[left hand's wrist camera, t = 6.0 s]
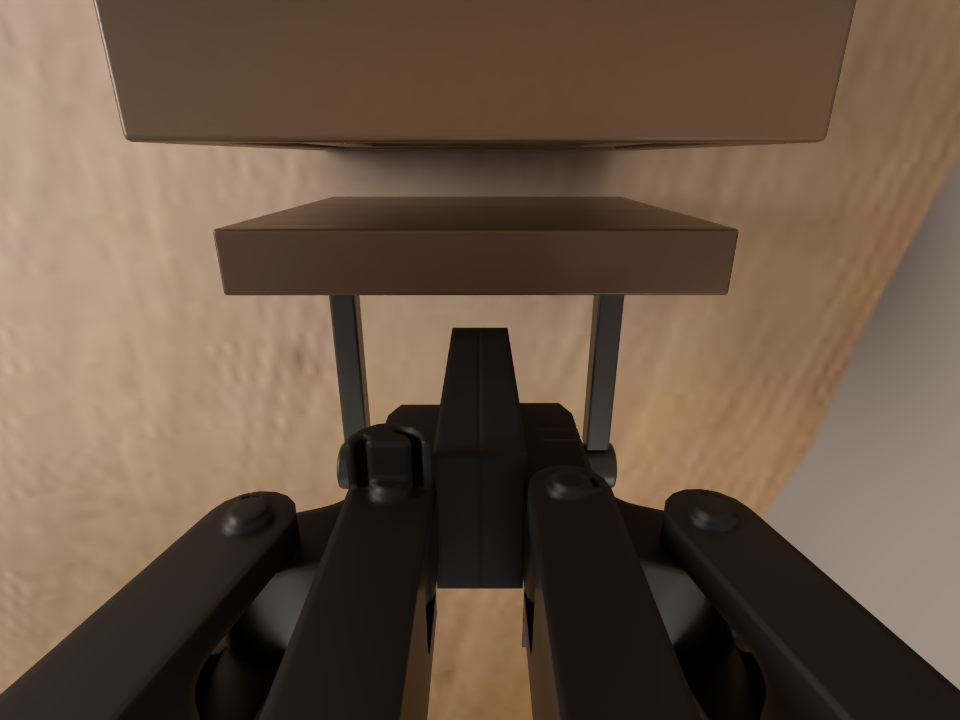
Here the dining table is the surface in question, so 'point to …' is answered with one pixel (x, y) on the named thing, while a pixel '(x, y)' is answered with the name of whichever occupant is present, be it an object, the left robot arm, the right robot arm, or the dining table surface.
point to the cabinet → (474, 71)
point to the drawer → (478, 267)
